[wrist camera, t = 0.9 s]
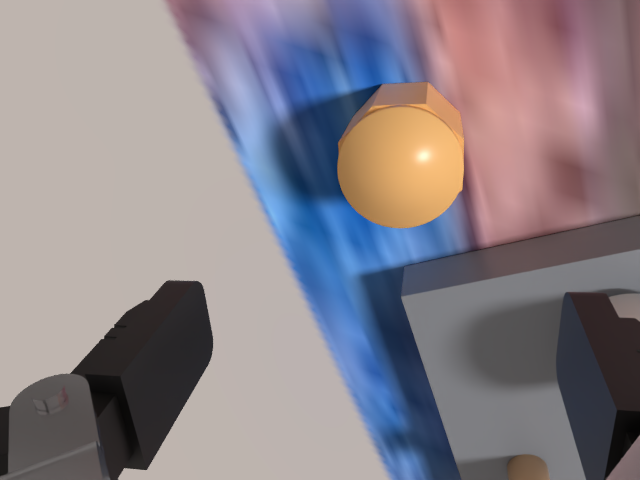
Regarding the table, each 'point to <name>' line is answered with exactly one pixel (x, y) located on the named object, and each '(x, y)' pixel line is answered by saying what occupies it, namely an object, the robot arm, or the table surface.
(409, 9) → the table surface
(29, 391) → the robot arm
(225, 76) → the table surface
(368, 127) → the orange wire cap
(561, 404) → the plate
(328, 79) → the table surface
